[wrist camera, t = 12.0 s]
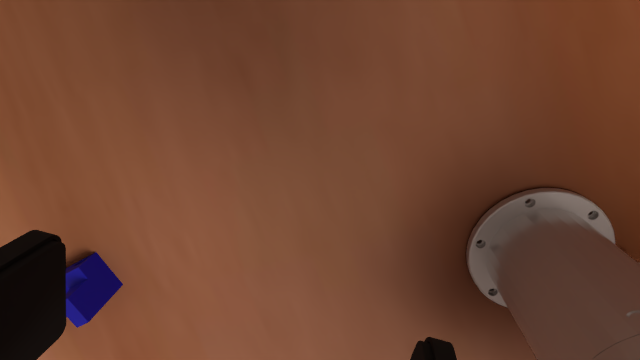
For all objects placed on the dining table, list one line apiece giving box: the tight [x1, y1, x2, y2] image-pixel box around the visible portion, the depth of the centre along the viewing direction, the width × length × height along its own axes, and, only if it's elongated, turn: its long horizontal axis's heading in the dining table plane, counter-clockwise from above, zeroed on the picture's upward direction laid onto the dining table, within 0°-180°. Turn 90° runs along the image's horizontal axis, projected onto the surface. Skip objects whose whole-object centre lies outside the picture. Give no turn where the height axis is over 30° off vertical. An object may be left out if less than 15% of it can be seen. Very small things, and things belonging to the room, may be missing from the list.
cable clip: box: [66, 253, 123, 327], centre depth 40 cm, size 12×4×6 cm, turn 119°
